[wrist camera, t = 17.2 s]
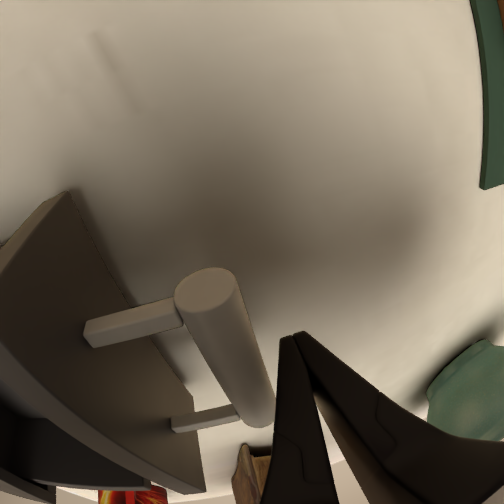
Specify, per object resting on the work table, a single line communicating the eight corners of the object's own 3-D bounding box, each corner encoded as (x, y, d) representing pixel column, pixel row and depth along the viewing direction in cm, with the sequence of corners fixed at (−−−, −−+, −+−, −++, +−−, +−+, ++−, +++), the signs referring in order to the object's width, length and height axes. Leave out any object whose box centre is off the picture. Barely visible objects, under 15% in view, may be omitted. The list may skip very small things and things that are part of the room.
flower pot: (484, 365, 30) (519, 417, 21) (393, 425, 30) (425, 489, 21) (519, 289, 21) (577, 354, 12) (408, 370, 21) (466, 468, 12)
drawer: (197, 141, 8) (215, 230, 4) (269, 376, 15) (300, 471, 10) (-88, 286, 7) (-131, 358, 2) (28, 416, 14) (18, 484, 9)
